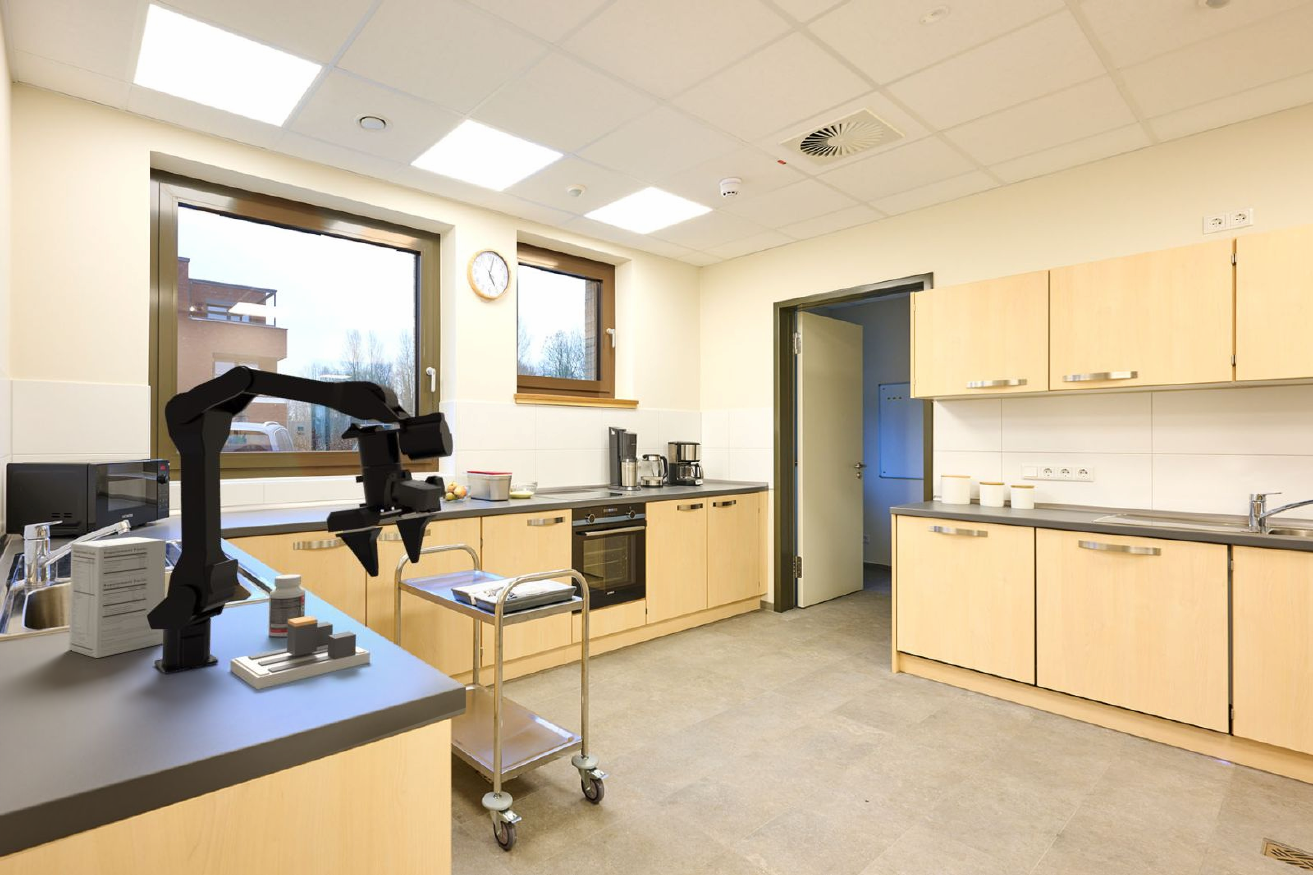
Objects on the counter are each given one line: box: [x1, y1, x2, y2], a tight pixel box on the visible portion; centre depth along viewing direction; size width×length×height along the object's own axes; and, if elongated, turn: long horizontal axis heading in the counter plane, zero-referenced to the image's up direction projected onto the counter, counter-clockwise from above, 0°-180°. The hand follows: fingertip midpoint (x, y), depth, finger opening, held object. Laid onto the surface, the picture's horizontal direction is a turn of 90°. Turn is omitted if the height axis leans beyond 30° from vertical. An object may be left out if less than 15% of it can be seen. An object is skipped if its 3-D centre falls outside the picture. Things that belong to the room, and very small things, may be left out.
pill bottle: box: [268, 574, 306, 638], centre depth 112 cm, size 5×5×10 cm
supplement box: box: [68, 536, 167, 659], centre depth 104 cm, size 10×9×17 cm
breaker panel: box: [229, 621, 371, 690], centre depth 95 cm, size 11×15×4 cm
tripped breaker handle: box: [286, 615, 319, 656], centre depth 95 cm, size 3×3×5 cm
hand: (395, 569), depth 97 cm, fingers open, 9 cm apart
